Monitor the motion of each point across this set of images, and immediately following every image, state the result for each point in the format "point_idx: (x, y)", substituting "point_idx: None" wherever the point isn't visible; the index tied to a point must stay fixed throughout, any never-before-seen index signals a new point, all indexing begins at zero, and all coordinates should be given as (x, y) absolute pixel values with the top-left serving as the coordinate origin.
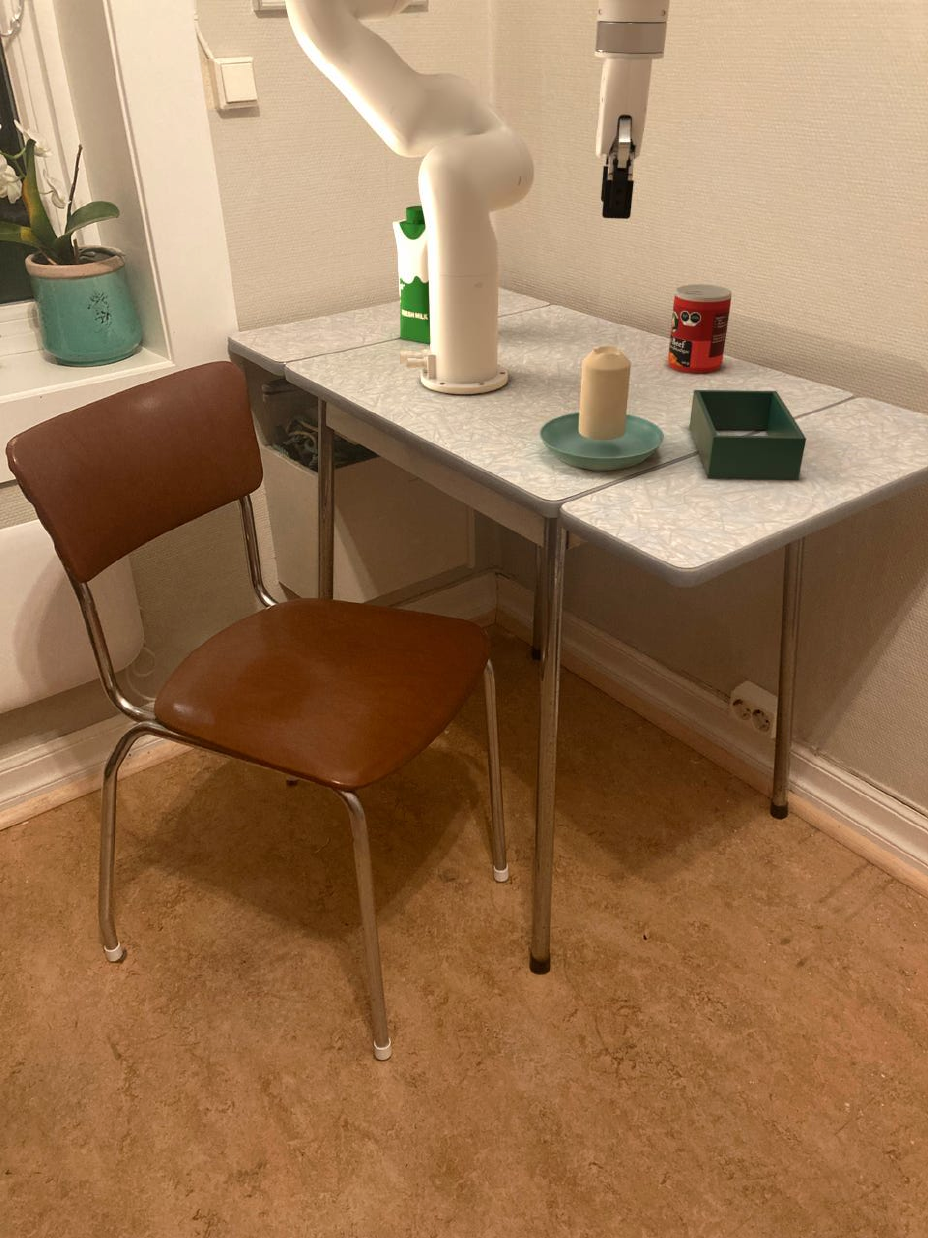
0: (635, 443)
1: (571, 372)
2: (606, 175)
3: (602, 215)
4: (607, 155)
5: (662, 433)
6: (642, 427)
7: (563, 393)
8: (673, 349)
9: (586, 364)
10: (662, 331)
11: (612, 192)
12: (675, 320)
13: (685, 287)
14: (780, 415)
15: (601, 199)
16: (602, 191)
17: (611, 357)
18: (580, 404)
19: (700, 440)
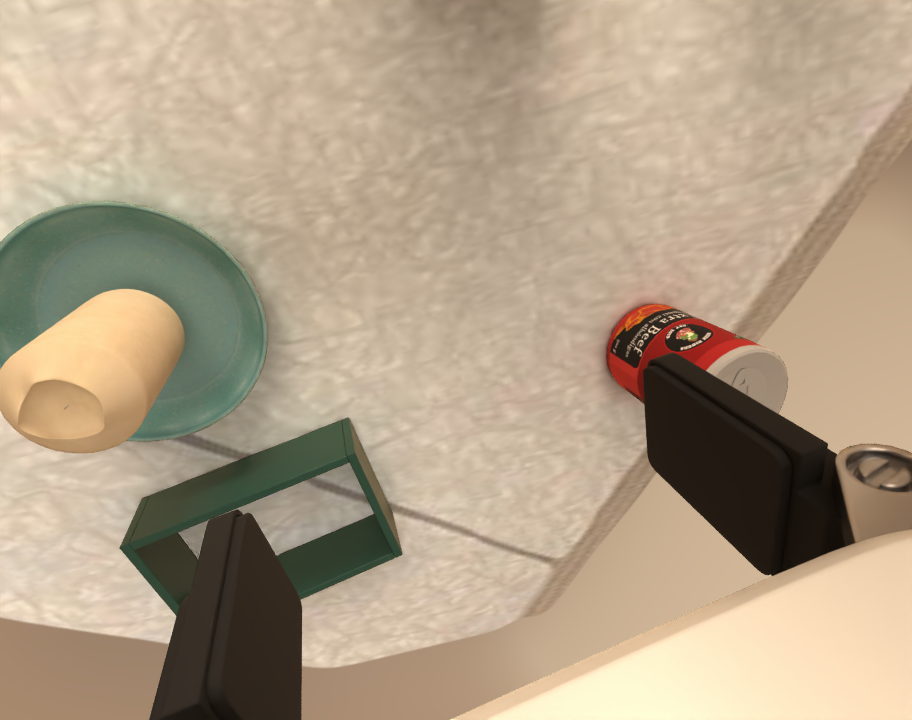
0: (210, 369)
1: (570, 133)
2: (740, 445)
3: (209, 520)
4: (853, 537)
5: (197, 430)
6: (245, 377)
7: (441, 152)
8: (642, 326)
9: (7, 363)
10: (817, 246)
11: (159, 691)
12: (681, 342)
13: (769, 362)
14: (325, 571)
15: (653, 361)
16: (684, 379)
17: (27, 433)
18: (72, 312)
19: (235, 473)
